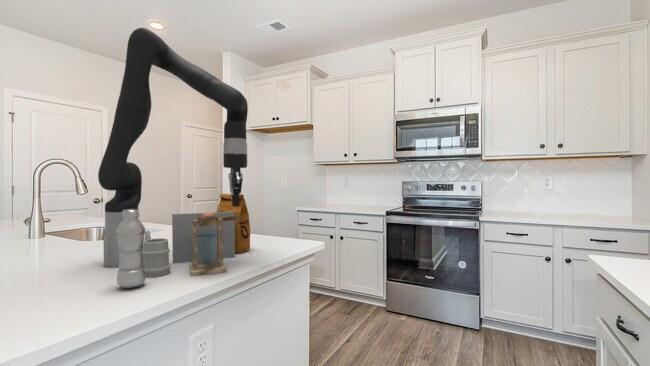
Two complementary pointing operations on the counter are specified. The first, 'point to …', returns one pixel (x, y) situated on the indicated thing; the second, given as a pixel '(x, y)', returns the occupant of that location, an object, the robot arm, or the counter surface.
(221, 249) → the stand
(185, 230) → the backboard
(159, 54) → the robot arm
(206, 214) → the ball
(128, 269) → the plastic bottle
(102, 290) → the counter surface
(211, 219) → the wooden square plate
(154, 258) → the mug
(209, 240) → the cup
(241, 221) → the coffee package
